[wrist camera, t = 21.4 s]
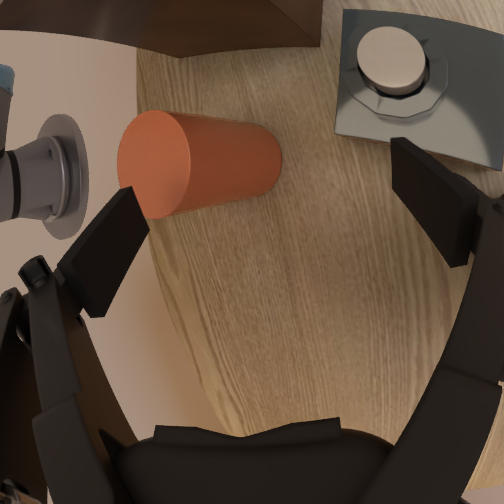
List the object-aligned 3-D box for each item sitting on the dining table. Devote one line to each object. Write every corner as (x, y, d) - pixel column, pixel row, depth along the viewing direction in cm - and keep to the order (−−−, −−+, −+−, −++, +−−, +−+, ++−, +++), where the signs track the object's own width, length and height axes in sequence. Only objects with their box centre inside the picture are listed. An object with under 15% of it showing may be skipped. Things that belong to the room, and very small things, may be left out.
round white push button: (361, 90, 17) (354, 82, 15) (364, 36, 16) (357, 23, 14) (423, 100, 15) (424, 93, 13) (425, 43, 14) (424, 30, 12)
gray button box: (346, 138, 23) (325, 131, 18) (355, 28, 20) (334, -4, 15) (489, 171, 18) (509, 172, 13) (494, 52, 15) (510, 24, 10)
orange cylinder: (214, 191, 31) (116, 210, 21) (220, 122, 29) (119, 112, 19) (277, 203, 28) (187, 229, 18) (286, 126, 26) (195, 107, 16)
